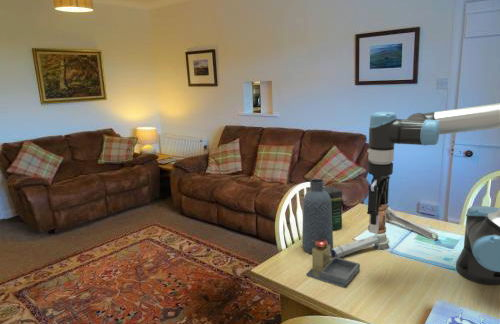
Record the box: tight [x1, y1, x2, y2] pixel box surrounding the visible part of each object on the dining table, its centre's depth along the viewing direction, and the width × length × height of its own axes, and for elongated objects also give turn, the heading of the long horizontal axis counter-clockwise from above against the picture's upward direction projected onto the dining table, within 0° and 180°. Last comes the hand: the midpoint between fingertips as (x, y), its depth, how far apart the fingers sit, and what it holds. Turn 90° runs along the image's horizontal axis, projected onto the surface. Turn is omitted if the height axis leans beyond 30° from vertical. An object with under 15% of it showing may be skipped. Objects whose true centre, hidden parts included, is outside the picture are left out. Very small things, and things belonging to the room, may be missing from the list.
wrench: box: [385, 205, 439, 241], centre depth 159 cm, size 8×2×30 cm
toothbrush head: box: [330, 232, 390, 258], centre depth 141 cm, size 5×7×25 cm
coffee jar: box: [324, 185, 343, 231], centre depth 163 cm, size 10×8×19 cm
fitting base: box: [306, 239, 361, 289], centre depth 126 cm, size 14×13×11 cm
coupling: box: [367, 202, 388, 234], centre depth 119 cm, size 6×6×9 cm
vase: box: [301, 178, 334, 255], centre depth 143 cm, size 12×12×28 cm
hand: (377, 229), depth 120 cm, fingers closed on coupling, 6 cm apart
